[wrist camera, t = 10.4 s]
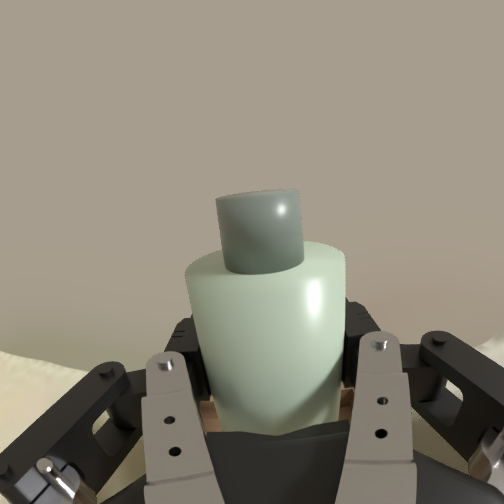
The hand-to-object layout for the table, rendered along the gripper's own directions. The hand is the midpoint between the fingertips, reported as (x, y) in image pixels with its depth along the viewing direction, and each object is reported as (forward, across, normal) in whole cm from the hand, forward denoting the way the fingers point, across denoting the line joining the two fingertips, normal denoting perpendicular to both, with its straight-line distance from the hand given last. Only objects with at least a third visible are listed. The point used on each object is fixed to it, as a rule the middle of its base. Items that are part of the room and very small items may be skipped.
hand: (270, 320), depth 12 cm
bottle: (-3, 0, +8) cm, 8 cm away
